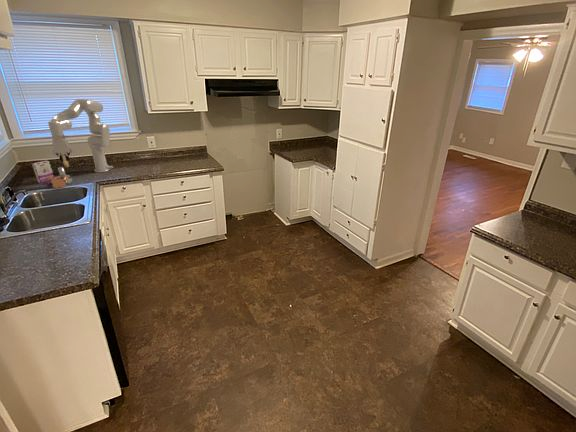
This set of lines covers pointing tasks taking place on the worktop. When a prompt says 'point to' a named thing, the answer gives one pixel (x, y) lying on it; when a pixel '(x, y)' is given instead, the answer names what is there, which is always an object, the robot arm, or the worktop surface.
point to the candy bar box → (43, 171)
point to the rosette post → (61, 179)
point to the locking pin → (65, 160)
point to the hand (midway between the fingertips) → (65, 160)
